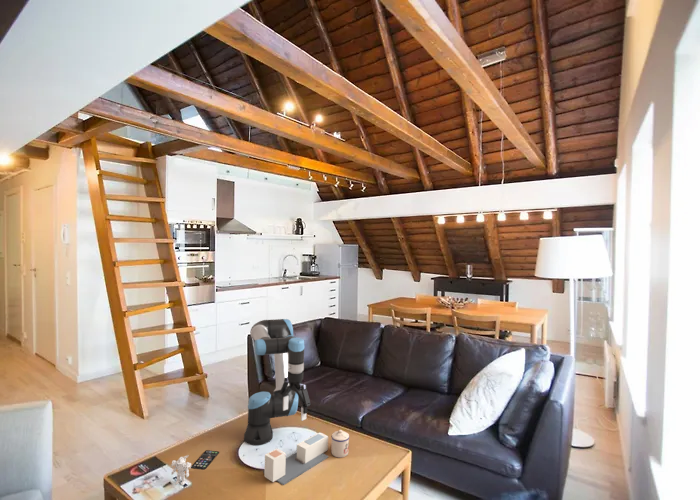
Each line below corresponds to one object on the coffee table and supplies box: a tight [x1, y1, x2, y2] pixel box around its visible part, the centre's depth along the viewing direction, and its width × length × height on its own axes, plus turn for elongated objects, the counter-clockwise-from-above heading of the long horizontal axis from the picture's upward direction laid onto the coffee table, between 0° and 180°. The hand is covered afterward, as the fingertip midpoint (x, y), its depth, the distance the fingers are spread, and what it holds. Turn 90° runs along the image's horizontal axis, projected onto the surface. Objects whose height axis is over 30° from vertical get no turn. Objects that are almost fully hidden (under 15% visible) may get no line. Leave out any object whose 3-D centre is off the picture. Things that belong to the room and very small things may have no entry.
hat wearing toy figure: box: [170, 454, 192, 486], centre depth 166 cm, size 9×4×12 cm, turn 81°
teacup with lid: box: [331, 429, 350, 458], centre depth 195 cm, size 12×9×12 cm
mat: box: [262, 451, 329, 486], centre depth 182 cm, size 14×29×1 cm, turn 141°
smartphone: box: [190, 449, 220, 471], centre depth 184 cm, size 7×1×15 cm
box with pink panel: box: [263, 447, 287, 483], centre depth 172 cm, size 6×7×10 cm
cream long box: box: [295, 432, 329, 464], centre depth 190 cm, size 6×17×7 cm, turn 141°
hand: (294, 414), depth 183 cm, fingers open, 13 cm apart
